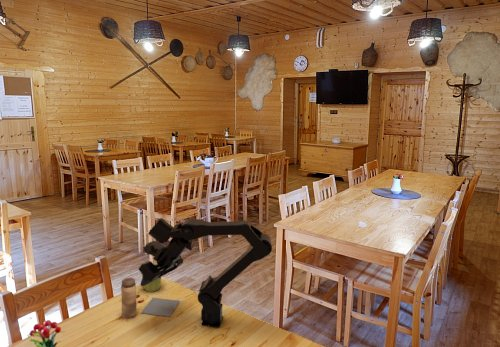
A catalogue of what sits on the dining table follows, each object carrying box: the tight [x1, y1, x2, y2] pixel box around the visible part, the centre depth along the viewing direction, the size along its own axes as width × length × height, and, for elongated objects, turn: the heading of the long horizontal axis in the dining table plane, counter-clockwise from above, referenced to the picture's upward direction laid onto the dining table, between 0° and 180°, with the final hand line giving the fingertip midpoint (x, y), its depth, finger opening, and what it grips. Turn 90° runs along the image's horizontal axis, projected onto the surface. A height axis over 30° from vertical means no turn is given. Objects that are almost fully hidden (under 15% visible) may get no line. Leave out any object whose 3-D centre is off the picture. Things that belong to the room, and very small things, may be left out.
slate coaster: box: [140, 297, 181, 318], centre depth 142 cm, size 11×11×1 cm
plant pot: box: [140, 263, 162, 292], centre depth 155 cm, size 9×9×9 cm
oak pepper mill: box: [120, 277, 138, 319], centre depth 135 cm, size 5×5×13 cm
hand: (149, 281), depth 134 cm, fingers open, 9 cm apart
